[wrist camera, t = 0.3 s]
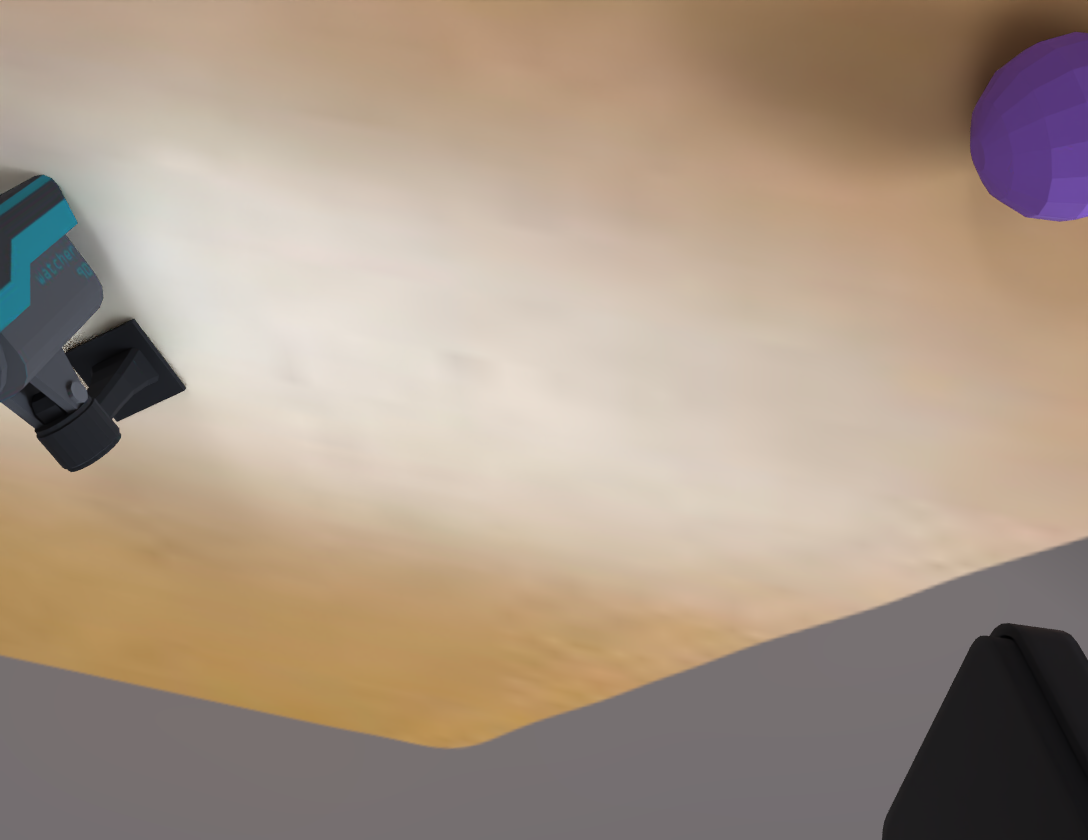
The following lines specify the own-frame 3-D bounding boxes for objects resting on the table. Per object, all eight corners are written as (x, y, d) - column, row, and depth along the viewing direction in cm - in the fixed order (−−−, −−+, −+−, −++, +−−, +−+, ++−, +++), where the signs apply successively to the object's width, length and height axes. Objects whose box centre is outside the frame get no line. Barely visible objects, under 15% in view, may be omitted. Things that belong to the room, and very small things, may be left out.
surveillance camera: (-43, 614, 35) (-283, 376, 30) (100, 427, 45) (-63, 229, 40) (89, 558, 33) (-142, 299, 29) (205, 378, 44) (49, 167, 39)
